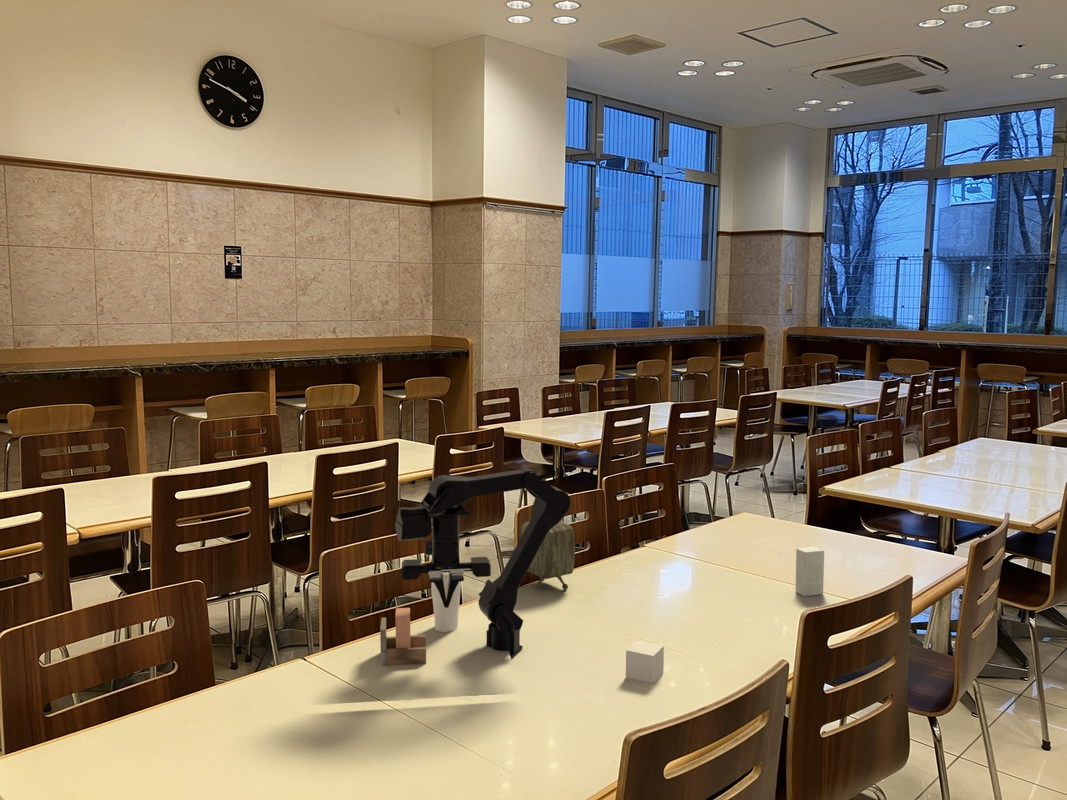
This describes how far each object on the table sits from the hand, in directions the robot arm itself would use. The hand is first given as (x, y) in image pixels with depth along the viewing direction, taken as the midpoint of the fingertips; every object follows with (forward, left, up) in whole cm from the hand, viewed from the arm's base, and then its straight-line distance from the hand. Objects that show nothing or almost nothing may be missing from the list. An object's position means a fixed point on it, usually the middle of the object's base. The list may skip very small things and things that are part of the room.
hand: (446, 607), depth 188 cm
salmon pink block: (+8, +5, -11) cm, 14 cm away
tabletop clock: (-2, -54, -12) cm, 56 cm away
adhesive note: (-41, -9, -12) cm, 44 cm away
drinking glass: (+8, -14, -12) cm, 20 cm away
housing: (+7, +4, -12) cm, 15 cm away
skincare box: (-68, -76, -12) cm, 103 cm away
